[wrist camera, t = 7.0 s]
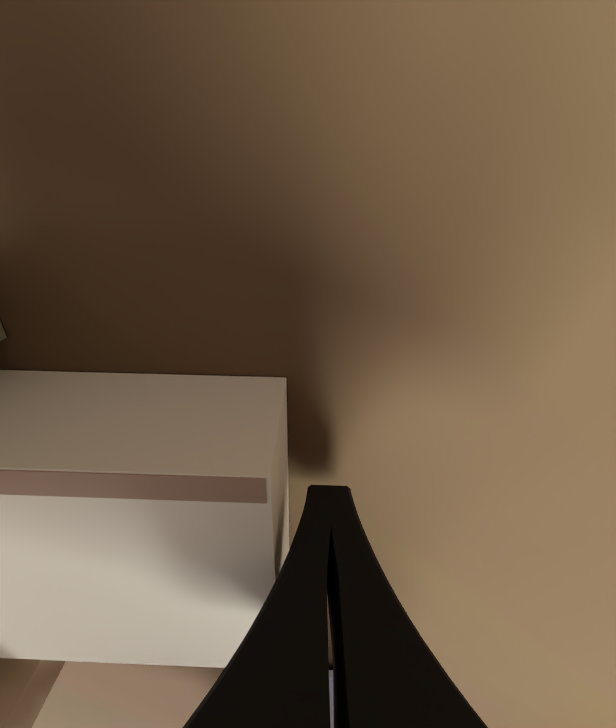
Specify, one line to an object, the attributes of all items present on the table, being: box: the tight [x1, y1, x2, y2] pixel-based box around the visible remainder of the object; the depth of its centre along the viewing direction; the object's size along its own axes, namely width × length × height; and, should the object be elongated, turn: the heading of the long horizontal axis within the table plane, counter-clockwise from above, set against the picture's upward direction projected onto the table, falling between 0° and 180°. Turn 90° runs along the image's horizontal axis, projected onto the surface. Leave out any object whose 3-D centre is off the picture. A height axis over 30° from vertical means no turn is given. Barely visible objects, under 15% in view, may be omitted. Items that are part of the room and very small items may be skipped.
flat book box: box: [0, 370, 289, 668], centre depth 11 cm, size 8×12×4 cm, turn 89°
